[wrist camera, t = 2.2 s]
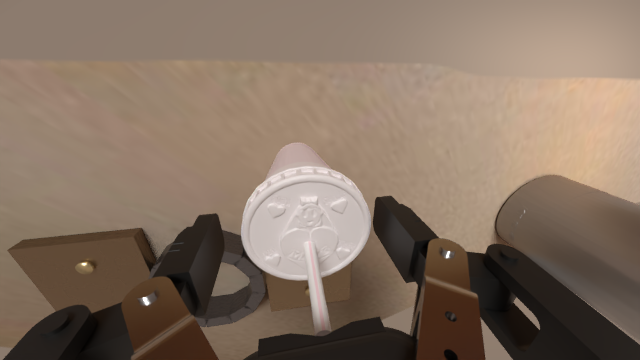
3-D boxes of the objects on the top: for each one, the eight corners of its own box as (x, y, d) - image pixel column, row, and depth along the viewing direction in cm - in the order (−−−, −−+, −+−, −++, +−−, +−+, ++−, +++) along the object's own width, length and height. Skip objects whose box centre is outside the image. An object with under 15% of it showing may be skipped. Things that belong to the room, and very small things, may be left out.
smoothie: (262, 197, 20) (231, 395, 8) (254, 126, 18) (188, 255, 5) (331, 193, 21) (403, 364, 9) (334, 125, 19) (444, 232, 6)
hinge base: (350, 206, 22) (358, 221, 20) (346, 290, 27) (352, 309, 25) (22, 240, 19) (-13, 262, 16) (89, 329, 24) (69, 355, 22)
